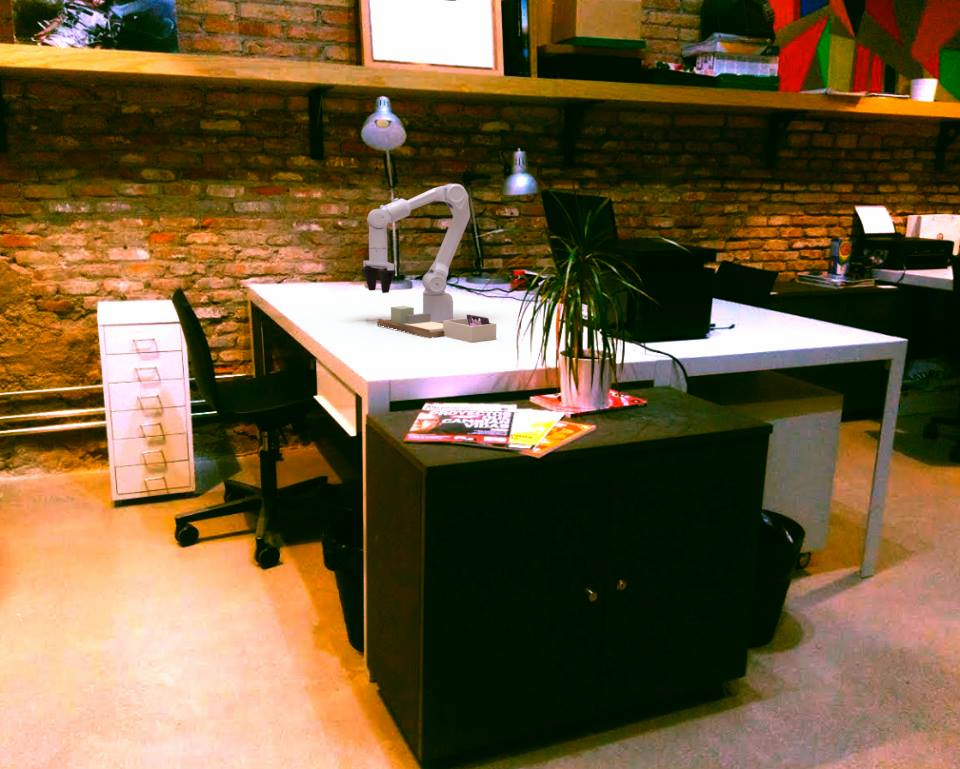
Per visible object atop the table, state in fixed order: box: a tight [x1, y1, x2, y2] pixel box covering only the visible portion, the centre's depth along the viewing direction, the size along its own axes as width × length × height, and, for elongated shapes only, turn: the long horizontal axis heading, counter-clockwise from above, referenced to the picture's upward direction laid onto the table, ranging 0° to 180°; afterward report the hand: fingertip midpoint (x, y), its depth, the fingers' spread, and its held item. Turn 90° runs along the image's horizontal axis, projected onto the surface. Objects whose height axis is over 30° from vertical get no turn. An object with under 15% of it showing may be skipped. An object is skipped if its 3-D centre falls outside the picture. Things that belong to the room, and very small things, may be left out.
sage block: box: [390, 305, 415, 324], centre depth 264 cm, size 5×5×6 cm
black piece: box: [466, 313, 491, 326], centre depth 248 cm, size 7×5×9 cm
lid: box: [405, 313, 443, 332], centre depth 255 cm, size 10×13×3 cm
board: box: [376, 318, 445, 339], centre depth 260 cm, size 11×27×2 cm, turn 40°
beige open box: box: [442, 317, 497, 343], centre depth 248 cm, size 9×13×4 cm
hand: (378, 291), depth 271 cm, fingers open, 7 cm apart
